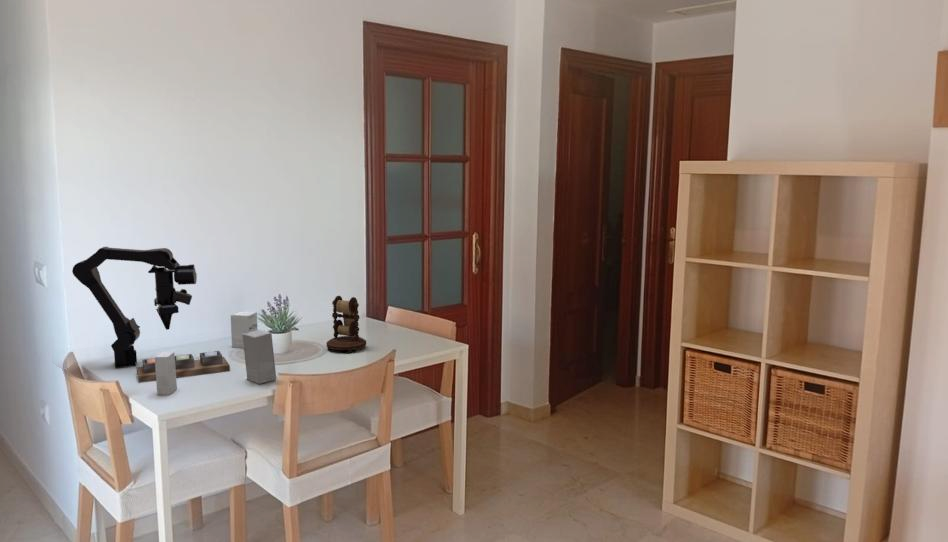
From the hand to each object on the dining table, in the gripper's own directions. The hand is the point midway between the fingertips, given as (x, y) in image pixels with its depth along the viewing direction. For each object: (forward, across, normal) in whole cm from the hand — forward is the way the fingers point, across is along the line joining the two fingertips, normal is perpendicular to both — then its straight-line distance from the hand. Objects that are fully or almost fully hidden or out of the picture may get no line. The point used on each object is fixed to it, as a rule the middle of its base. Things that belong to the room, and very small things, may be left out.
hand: (167, 329), depth 258 cm
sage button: (+10, -14, -3) cm, 17 cm away
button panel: (+12, -14, -3) cm, 19 cm away
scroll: (+12, -10, -61) cm, 63 cm away
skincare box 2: (+12, -35, -24) cm, 44 cm away
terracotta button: (+10, -14, +6) cm, 18 cm away
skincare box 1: (+12, -34, +4) cm, 36 cm away
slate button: (+10, -14, -12) cm, 21 cm away
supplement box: (+12, +12, -28) cm, 33 cm away
